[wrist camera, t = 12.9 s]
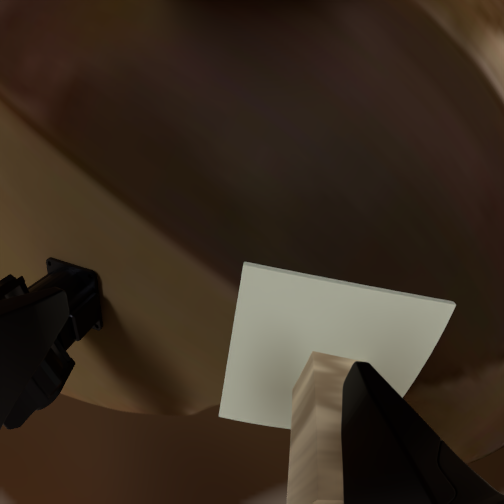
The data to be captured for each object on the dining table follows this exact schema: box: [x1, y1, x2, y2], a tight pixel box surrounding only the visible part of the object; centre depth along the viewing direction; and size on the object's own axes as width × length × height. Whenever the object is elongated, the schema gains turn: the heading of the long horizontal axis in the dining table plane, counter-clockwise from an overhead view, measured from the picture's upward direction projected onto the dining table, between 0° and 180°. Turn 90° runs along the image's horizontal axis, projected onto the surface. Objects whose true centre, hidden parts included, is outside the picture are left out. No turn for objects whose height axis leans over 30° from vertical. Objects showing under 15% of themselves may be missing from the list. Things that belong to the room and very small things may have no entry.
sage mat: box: [219, 262, 456, 429], centre depth 23 cm, size 18×18×1 cm
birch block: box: [286, 351, 365, 504], centre depth 17 cm, size 5×5×13 cm
